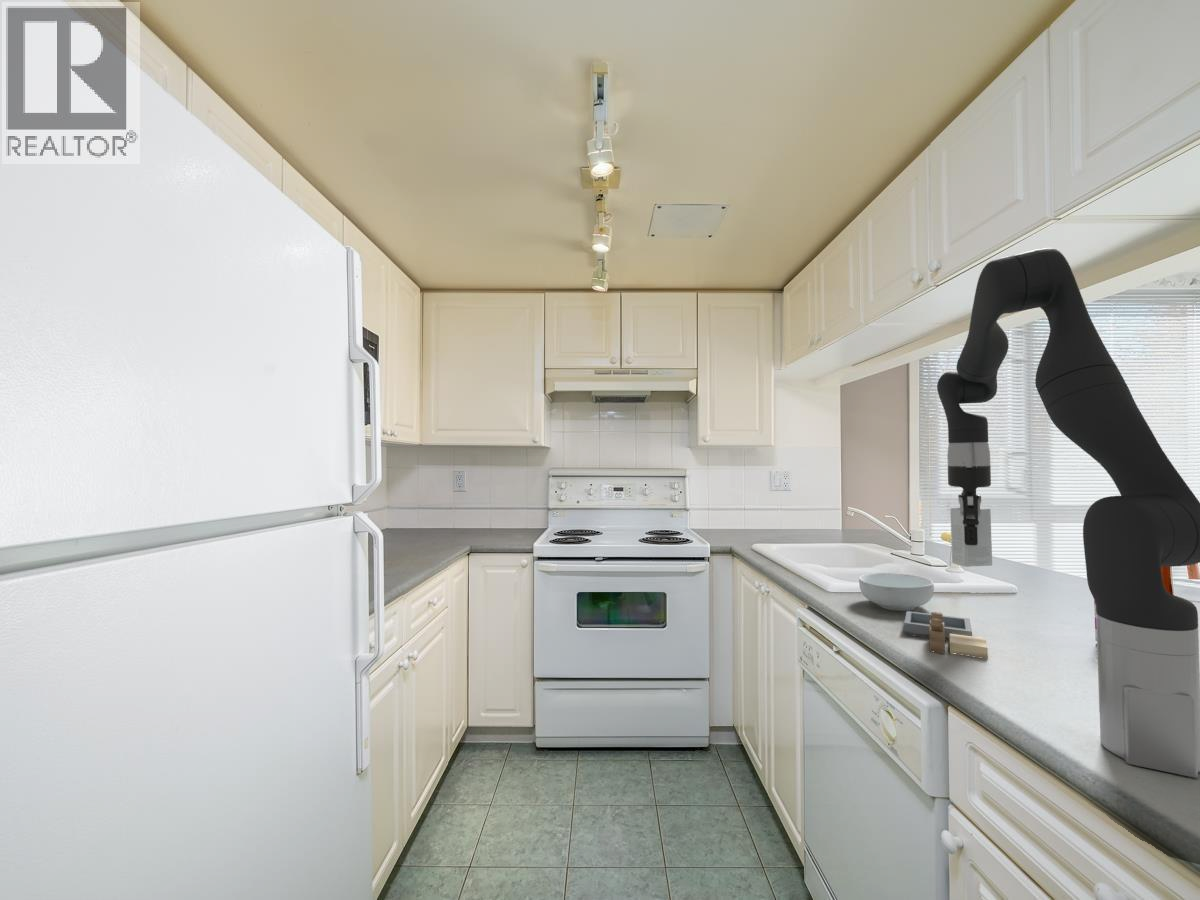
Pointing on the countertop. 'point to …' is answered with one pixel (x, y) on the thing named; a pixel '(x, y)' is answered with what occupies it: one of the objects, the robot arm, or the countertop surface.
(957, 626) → the tray
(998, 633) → the countertop surface
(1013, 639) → the countertop surface
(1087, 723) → the countertop surface
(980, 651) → the tan block
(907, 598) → the cereal bowl
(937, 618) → the stop bar
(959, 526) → the skincare box
